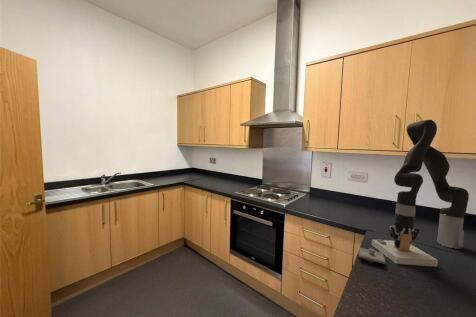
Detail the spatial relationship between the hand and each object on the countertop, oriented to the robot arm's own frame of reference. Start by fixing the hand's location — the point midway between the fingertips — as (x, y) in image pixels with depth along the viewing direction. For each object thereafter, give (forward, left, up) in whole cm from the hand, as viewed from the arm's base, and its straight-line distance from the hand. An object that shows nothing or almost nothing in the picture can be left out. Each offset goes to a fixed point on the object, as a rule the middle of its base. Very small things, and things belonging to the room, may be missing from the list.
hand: (401, 247), depth 100 cm
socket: (0, 0, -4) cm, 4 cm away
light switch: (+19, +7, -4) cm, 21 cm away
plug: (0, 0, -3) cm, 3 cm away
